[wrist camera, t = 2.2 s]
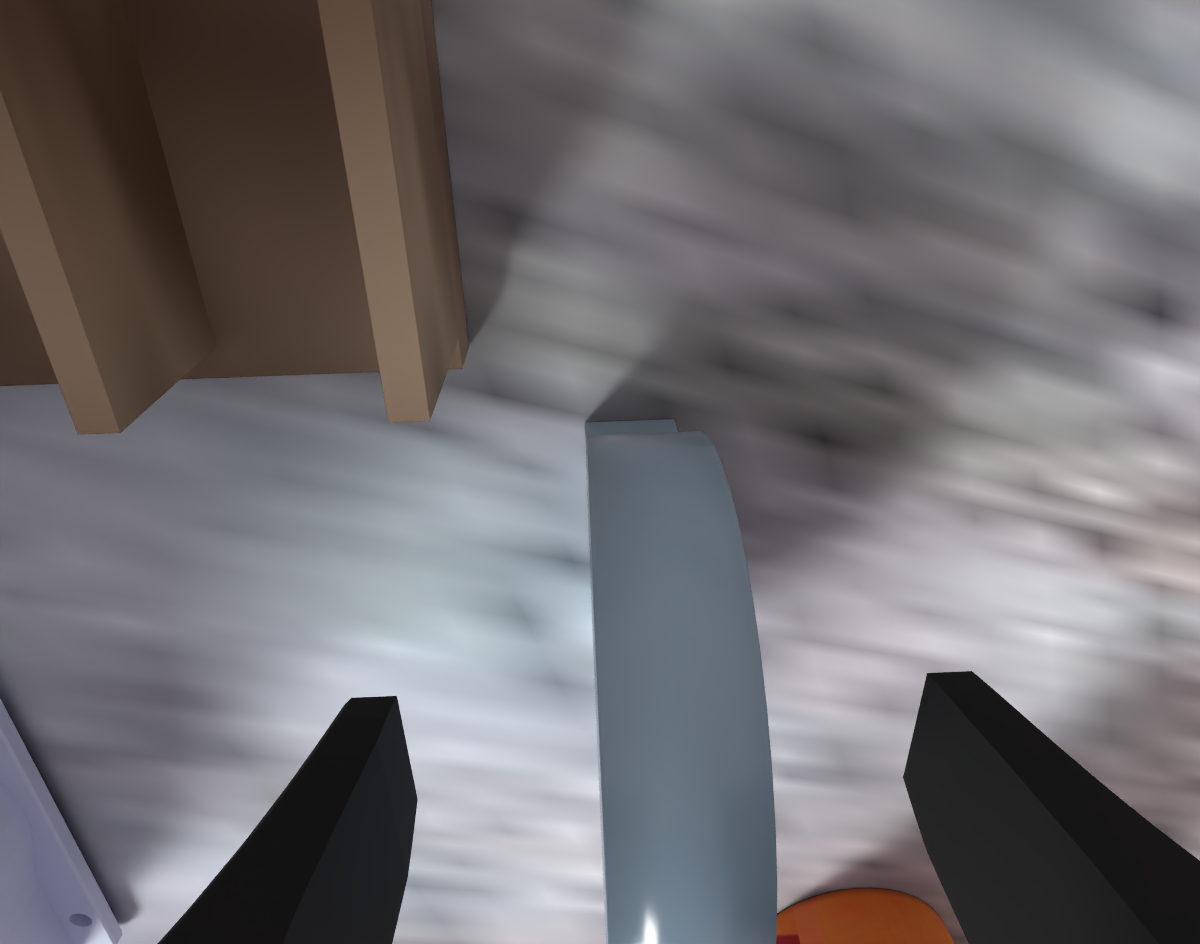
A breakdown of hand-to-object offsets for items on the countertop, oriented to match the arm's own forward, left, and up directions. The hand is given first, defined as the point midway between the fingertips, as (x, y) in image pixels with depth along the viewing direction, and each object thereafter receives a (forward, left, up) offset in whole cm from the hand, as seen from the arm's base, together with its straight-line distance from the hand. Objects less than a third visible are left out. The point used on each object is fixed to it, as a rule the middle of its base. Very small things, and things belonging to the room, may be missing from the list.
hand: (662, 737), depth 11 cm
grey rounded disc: (0, 0, -5) cm, 5 cm away
